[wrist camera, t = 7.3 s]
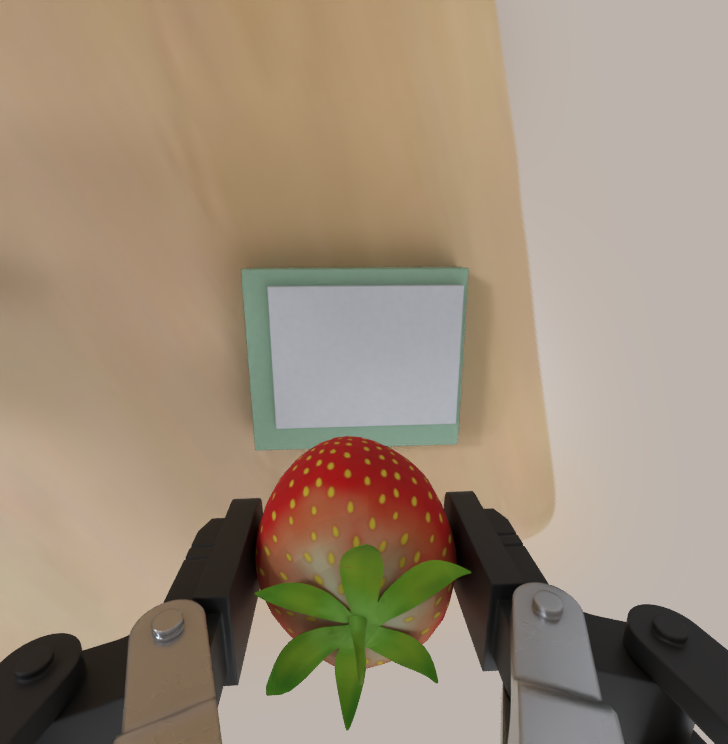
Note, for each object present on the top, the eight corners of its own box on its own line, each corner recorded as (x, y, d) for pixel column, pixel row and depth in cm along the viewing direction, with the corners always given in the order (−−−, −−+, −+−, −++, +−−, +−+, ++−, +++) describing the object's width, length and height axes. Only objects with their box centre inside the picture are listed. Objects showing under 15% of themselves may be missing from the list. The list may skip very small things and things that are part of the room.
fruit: (444, 492, 16) (546, 720, 8) (321, 552, 16) (308, 823, 9) (380, 369, 14) (430, 505, 7) (246, 437, 15) (149, 640, 7)
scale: (261, 438, 32) (253, 458, 29) (248, 267, 28) (238, 269, 25) (448, 433, 32) (460, 451, 30) (458, 266, 29) (472, 268, 26)
